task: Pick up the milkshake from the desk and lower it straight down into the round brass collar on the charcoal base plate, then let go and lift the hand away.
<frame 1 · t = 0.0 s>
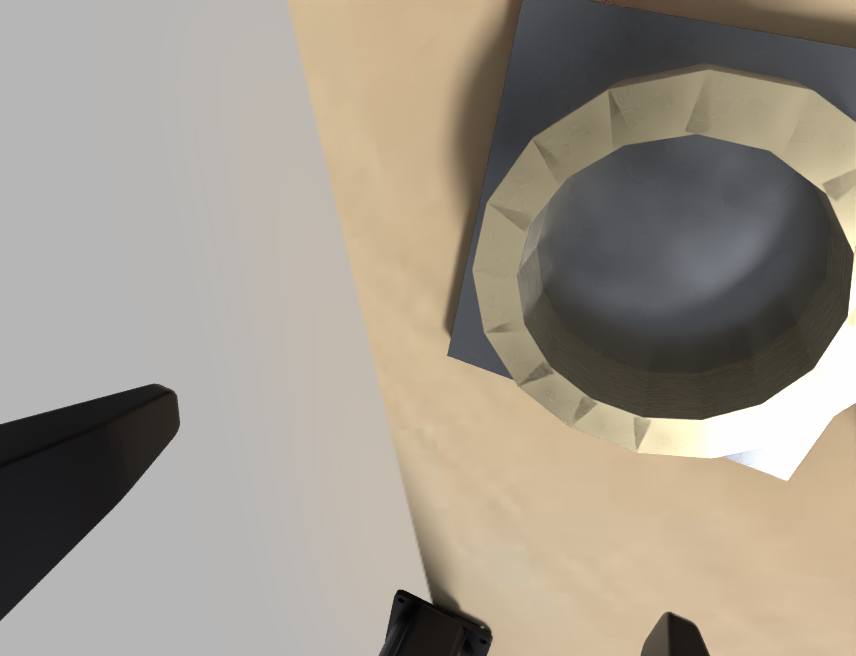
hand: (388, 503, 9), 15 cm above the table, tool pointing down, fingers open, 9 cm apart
collar station: (670, 250, 20), on the table
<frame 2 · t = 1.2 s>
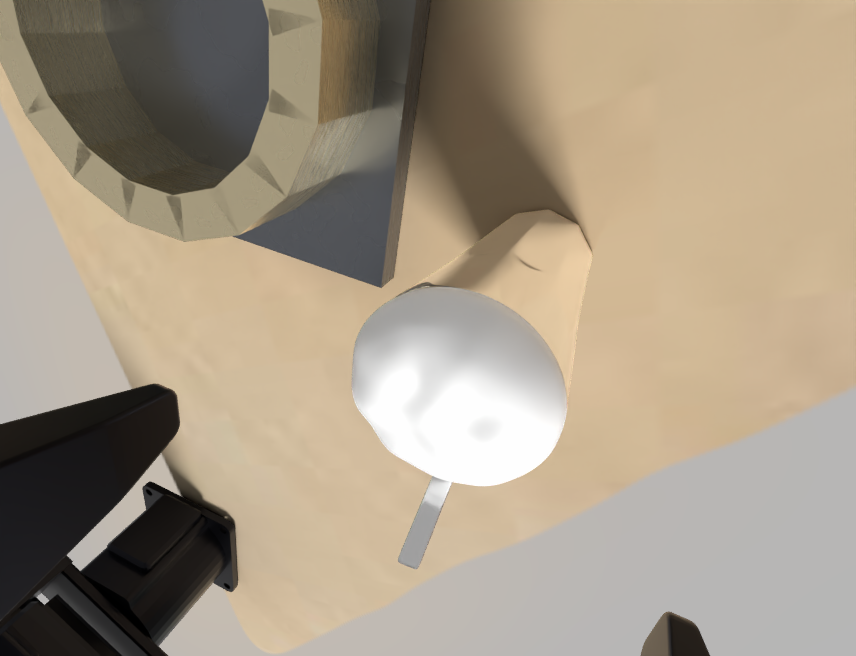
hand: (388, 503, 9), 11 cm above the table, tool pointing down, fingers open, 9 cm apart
collar station: (229, 27, 18), on the table
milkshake: (539, 267, 18), on the table
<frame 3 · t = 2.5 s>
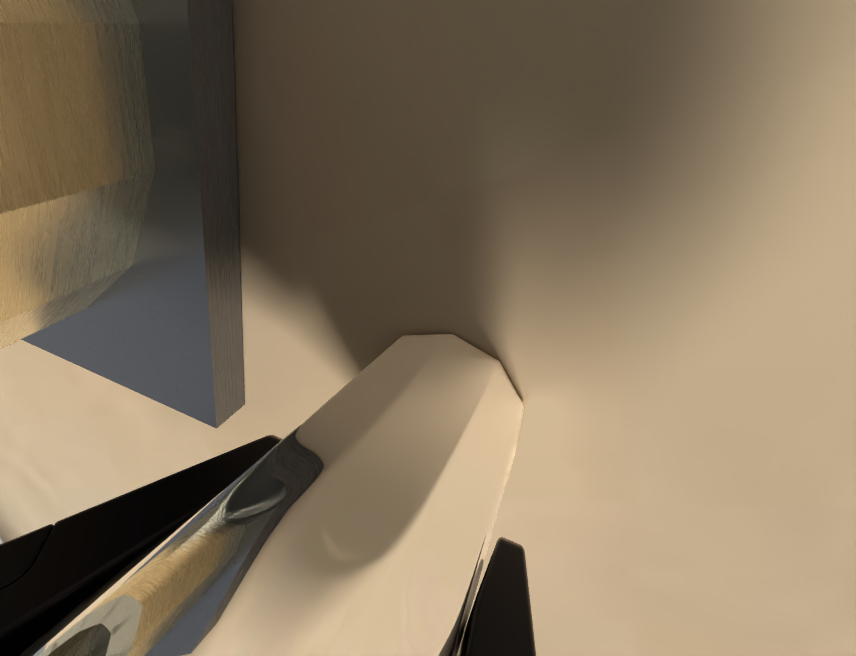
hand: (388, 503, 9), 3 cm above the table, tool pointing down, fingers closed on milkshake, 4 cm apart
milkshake: (447, 412, 12), on the table, touching gripper
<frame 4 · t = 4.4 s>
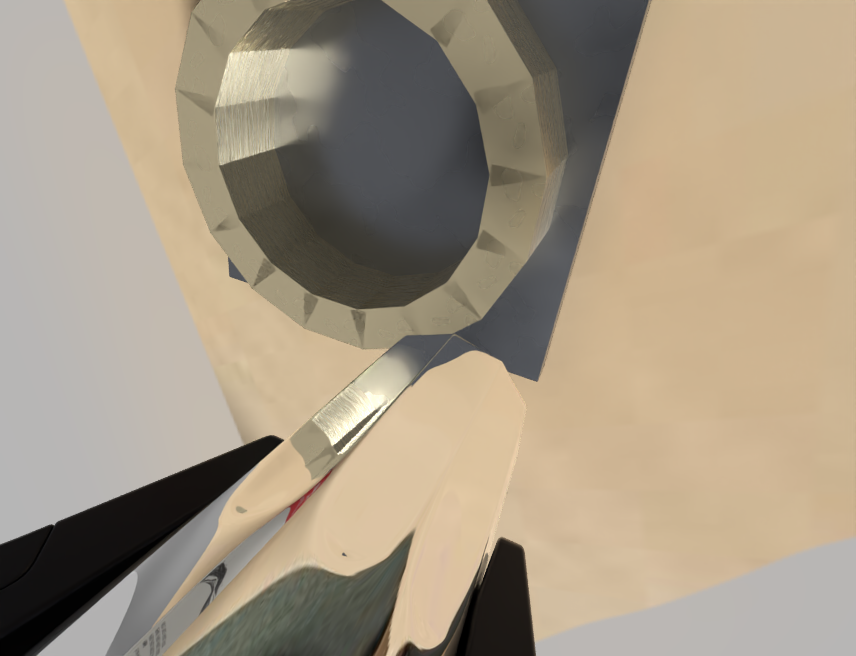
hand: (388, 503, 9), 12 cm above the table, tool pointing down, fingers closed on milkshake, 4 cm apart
collar station: (398, 145, 20), on the table
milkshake: (450, 412, 11), point 10 cm above the table, touching gripper
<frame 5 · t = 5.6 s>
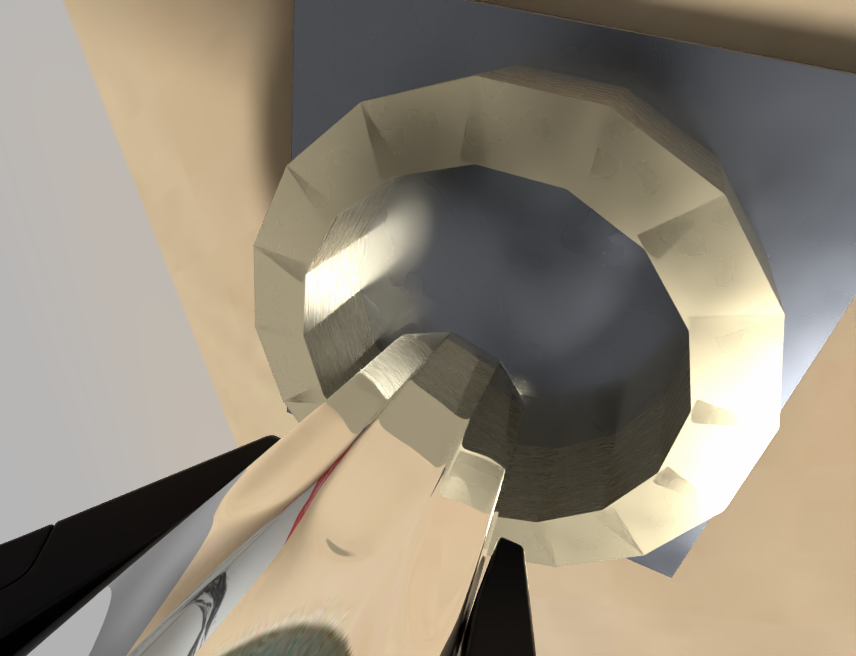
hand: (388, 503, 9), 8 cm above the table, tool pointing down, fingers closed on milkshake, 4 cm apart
collar station: (517, 297, 16), on the table
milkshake: (448, 410, 11), point 6 cm above the table, touching gripper
when the fingers open (5 cm above the table, at t = 6.5 s): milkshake drops 1 cm, resting on collar station.
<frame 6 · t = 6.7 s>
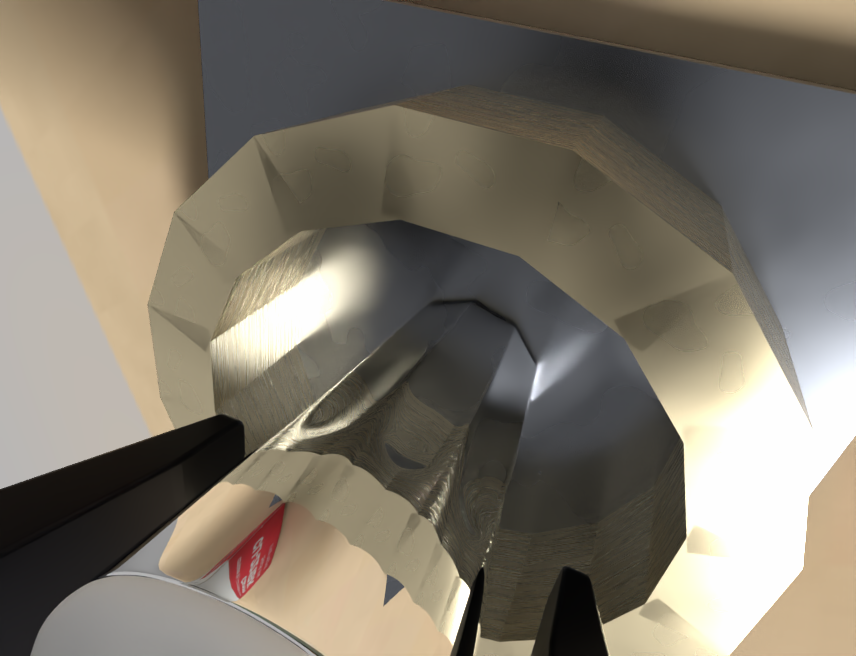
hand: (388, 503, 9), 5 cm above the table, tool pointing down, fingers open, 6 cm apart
collar station: (480, 357, 13), on the table
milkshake: (465, 377, 13), point 1 cm above the table, touching collar station
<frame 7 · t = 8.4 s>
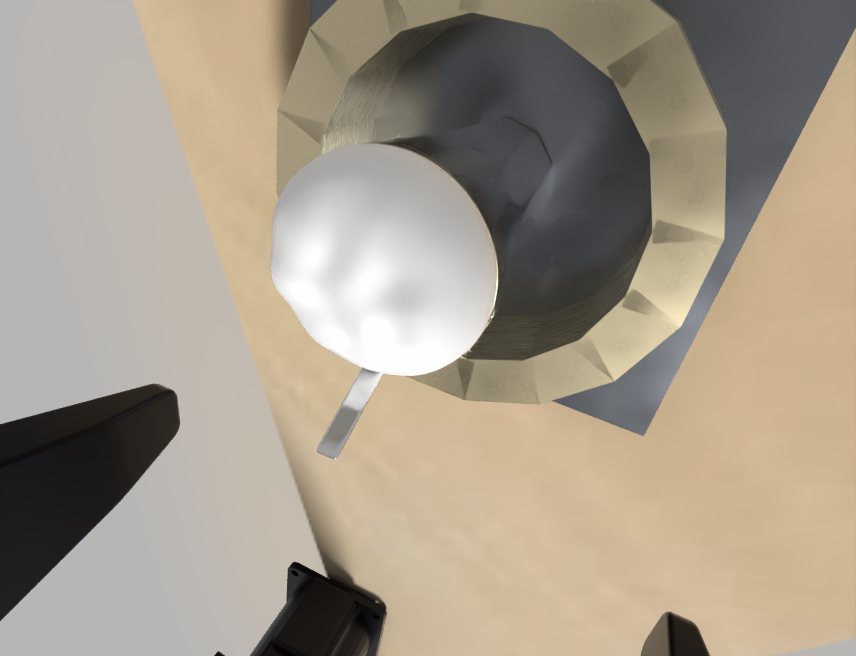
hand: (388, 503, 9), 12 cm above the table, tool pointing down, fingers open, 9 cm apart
collar station: (508, 176, 18), on the table
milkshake: (499, 184, 17), point 1 cm above the table, touching collar station
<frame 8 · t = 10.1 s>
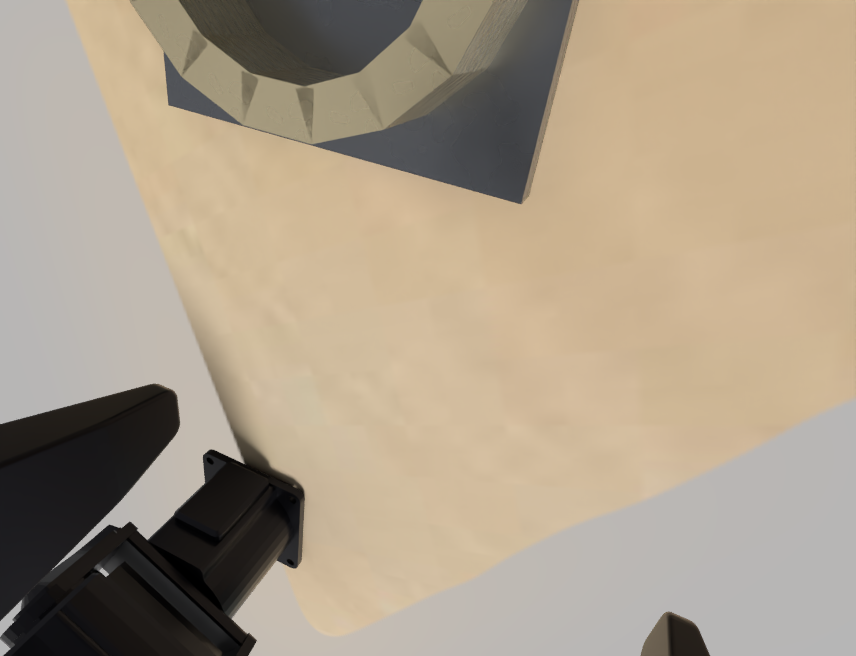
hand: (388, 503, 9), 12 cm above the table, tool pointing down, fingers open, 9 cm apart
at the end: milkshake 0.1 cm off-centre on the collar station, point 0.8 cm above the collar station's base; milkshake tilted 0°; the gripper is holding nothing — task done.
